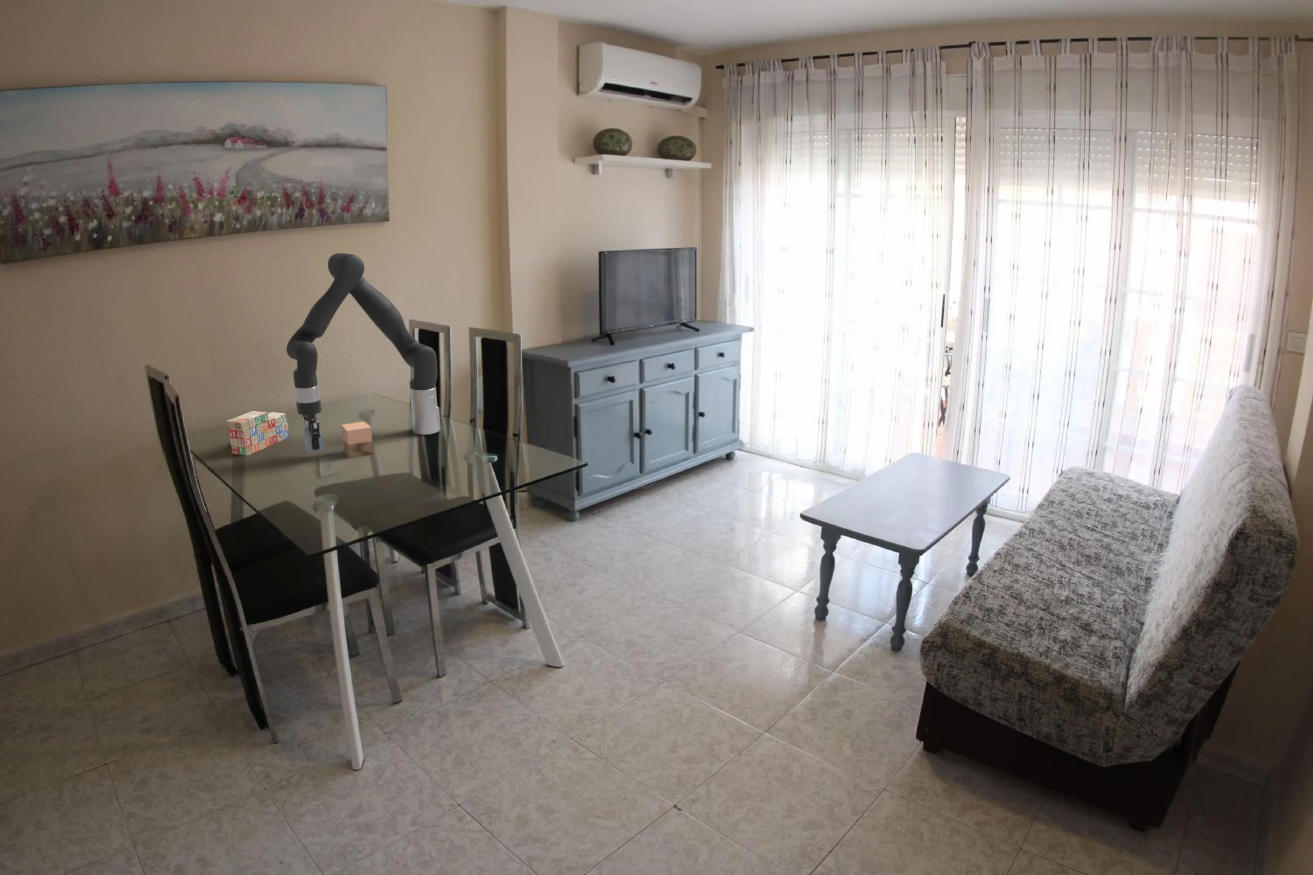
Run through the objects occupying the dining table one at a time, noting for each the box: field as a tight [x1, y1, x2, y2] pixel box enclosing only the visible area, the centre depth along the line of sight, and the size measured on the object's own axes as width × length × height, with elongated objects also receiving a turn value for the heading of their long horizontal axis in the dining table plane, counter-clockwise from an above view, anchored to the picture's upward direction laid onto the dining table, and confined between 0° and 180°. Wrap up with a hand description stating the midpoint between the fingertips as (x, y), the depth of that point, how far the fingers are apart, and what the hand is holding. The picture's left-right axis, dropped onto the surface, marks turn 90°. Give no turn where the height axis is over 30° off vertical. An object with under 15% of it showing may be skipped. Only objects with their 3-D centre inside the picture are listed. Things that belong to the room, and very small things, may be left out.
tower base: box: [342, 439, 374, 459], centre depth 280 cm, size 8×8×5 cm
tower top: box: [340, 421, 373, 445], centre depth 278 cm, size 8×8×5 cm
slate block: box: [302, 430, 325, 453], centre depth 273 cm, size 5×5×6 cm
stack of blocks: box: [226, 410, 290, 457], centre depth 284 cm, size 21×6×12 cm, turn 164°
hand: (314, 446), depth 273 cm, fingers closed on slate block, 5 cm apart
